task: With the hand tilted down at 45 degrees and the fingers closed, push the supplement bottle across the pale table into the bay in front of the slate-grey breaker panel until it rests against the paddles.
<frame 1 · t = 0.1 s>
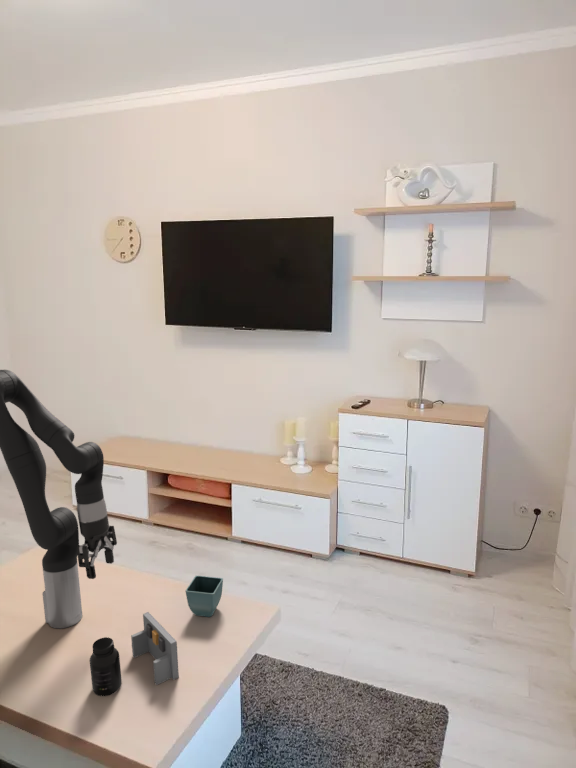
hand: (101, 570, 158), 17 cm above the table, tool pointing down, fingers open, 8 cm apart
flower pot: (205, 612, 167), on the table
supplement bottle: (107, 688, 137), on the table
breaker panel: (161, 661, 146), on the table
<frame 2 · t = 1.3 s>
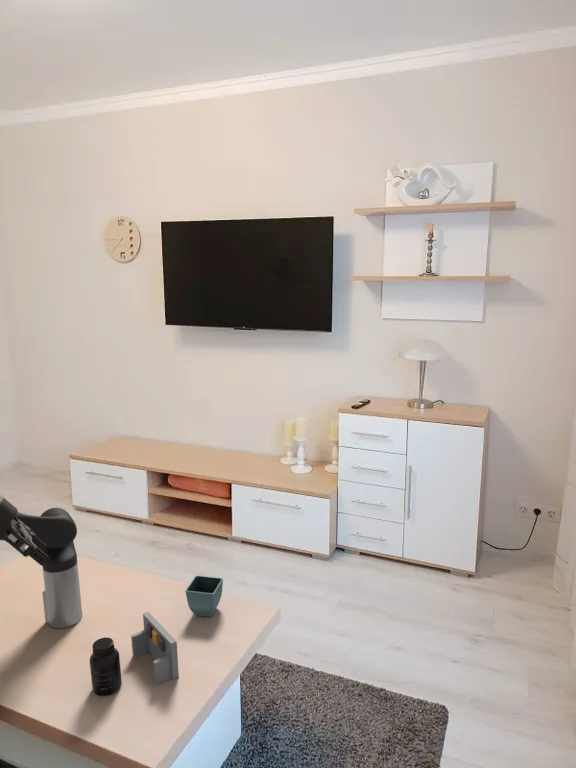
hand: (45, 556, 128), 36 cm above the table, tool tilted 40°, fingers open, 8 cm apart
nothing on the table moved.
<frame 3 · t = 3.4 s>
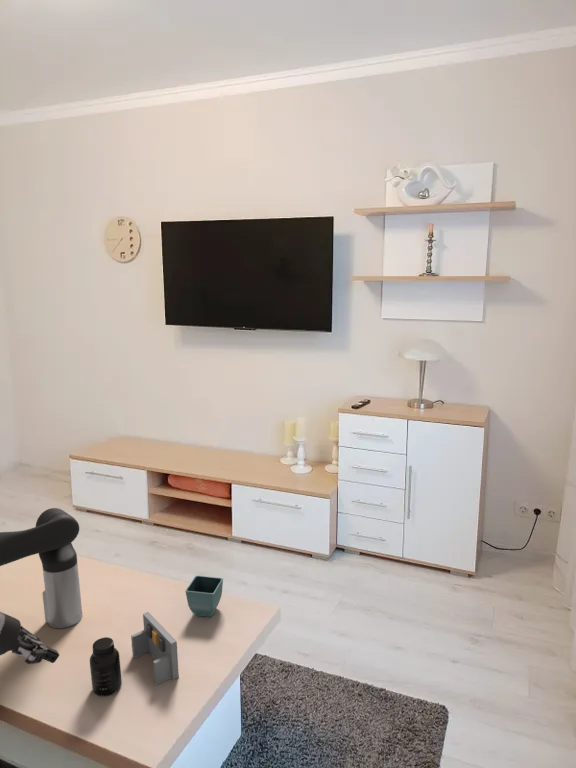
hand: (56, 657, 128), 13 cm above the table, tool tilted 45°, fingers closed
nothing on the table moved.
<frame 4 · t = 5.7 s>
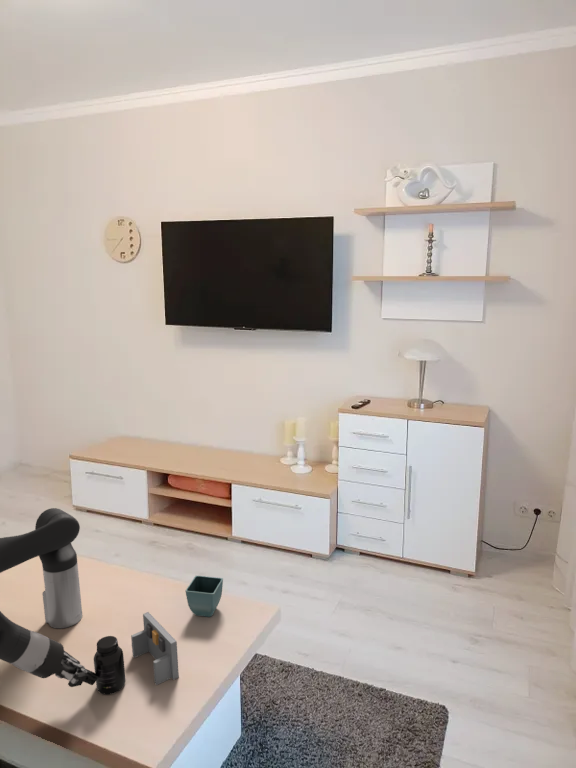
hand: (94, 679, 134), 4 cm above the table, tool tilted 45°, fingers closed
supplement bottle: (111, 686, 138), on the table, touching gripper
everything else where it was.
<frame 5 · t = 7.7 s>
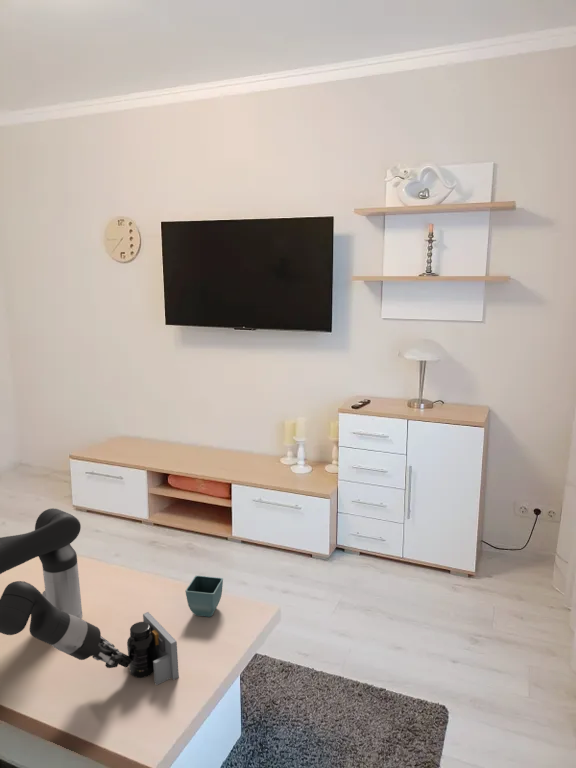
hand: (128, 662, 139), 4 cm above the table, tool tilted 45°, fingers closed
supplement bottle: (143, 670, 143), on the table, touching breaker panel, gripper
everything else where it was.
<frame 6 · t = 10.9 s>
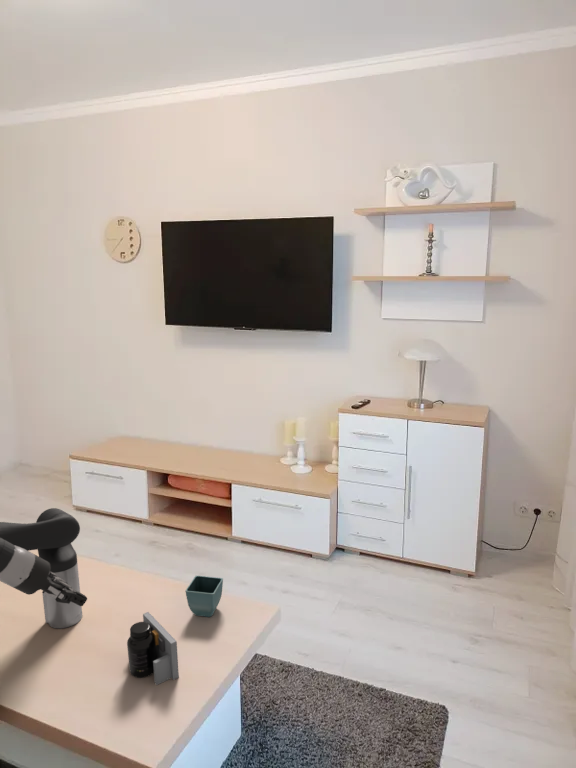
hand: (83, 601, 130), 24 cm above the table, tool tilted 45°, fingers closed
supplement bottle: (143, 670, 143), on the table, touching breaker panel
everything else where it was.
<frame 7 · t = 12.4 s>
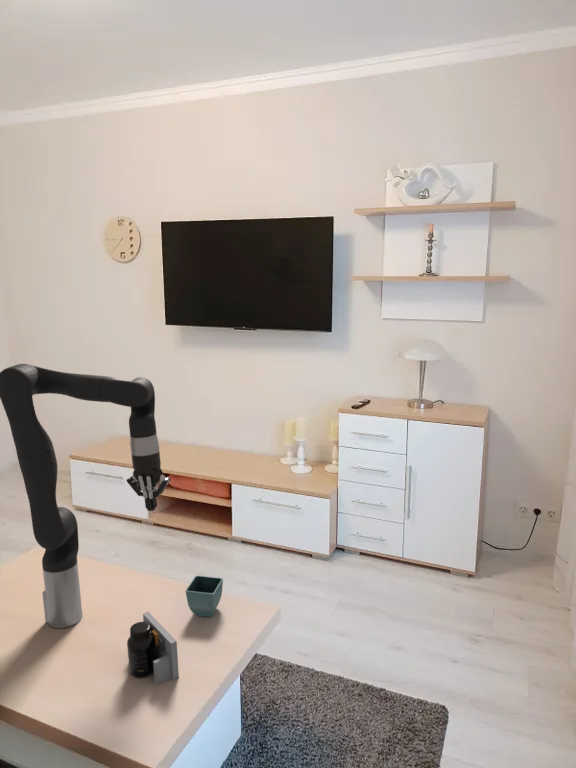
hand: (151, 509, 159), 33 cm above the table, tool pointing down, fingers closed
nothing on the table moved.
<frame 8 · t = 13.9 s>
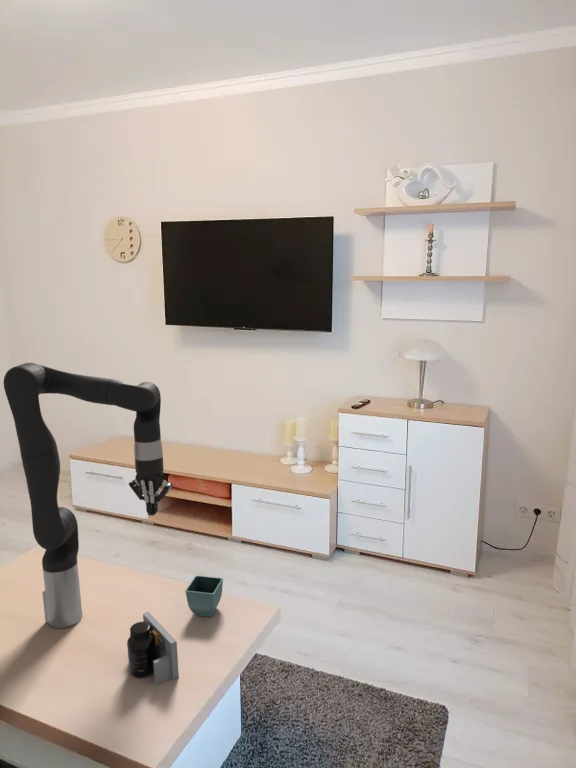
hand: (152, 514, 159), 32 cm above the table, tool pointing down, fingers closed
nothing on the table moved.
at the end: supplement bottle inside the target area (0.7 cm from its centre), on the table; supplement bottle tilted 0°; supplement bottle moved 9.5 cm from its start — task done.
